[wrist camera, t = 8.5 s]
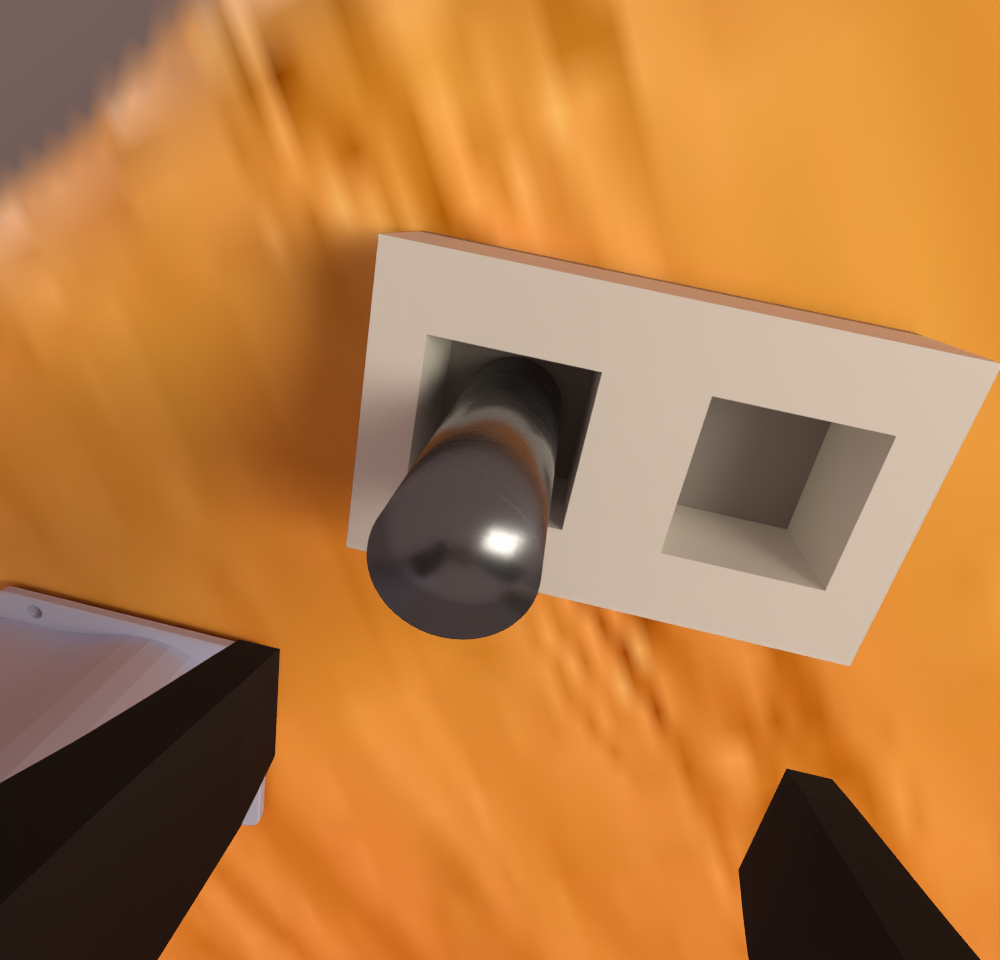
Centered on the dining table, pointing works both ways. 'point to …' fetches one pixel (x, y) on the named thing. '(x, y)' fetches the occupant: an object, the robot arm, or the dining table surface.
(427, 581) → the pin
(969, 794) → the dining table surface
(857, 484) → the bore block
